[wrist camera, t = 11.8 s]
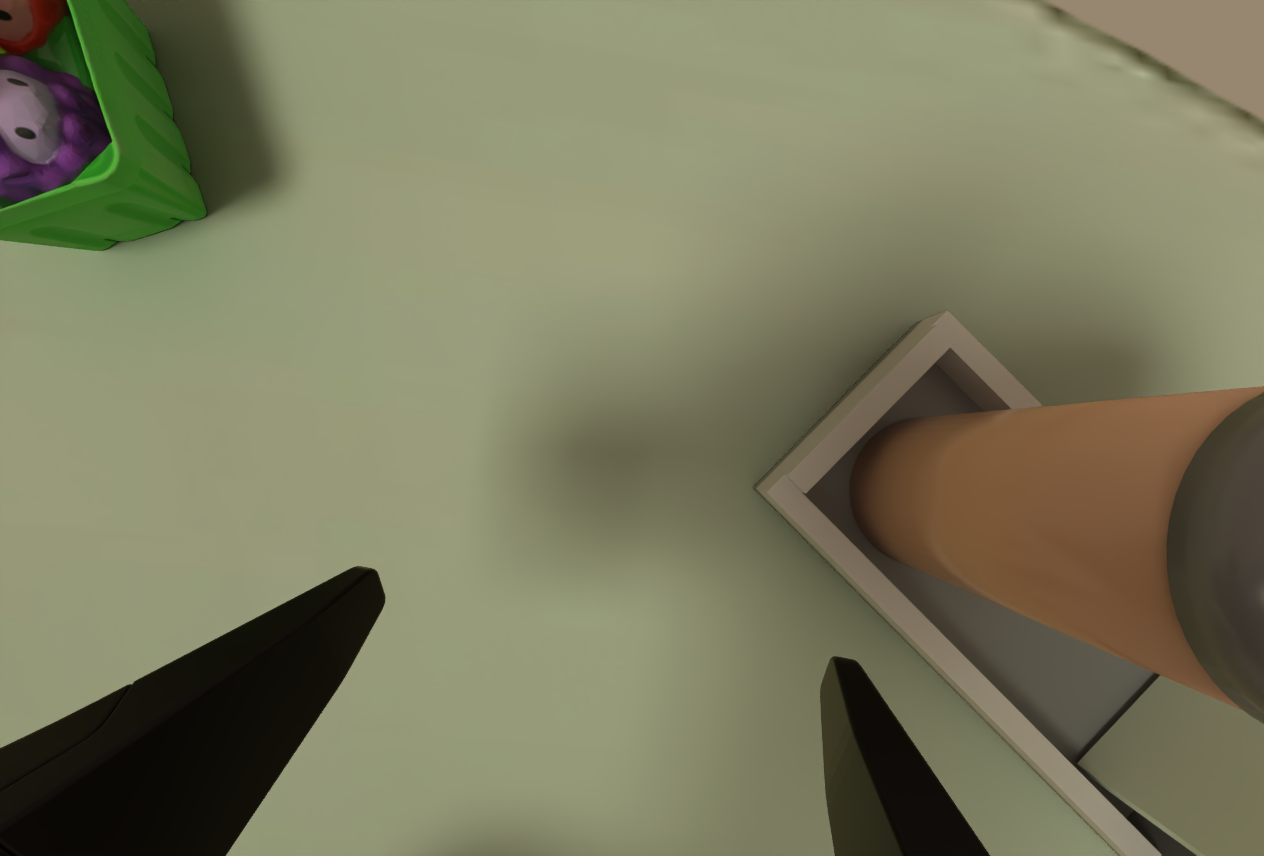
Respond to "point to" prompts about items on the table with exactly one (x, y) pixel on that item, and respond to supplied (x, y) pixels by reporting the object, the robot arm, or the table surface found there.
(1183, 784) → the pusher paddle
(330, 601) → the robot arm
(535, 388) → the table surface
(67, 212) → the fruit basket
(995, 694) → the lane
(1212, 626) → the jar
